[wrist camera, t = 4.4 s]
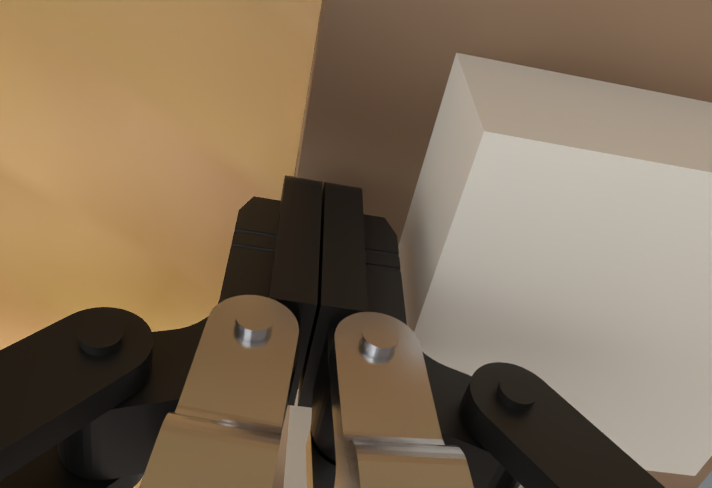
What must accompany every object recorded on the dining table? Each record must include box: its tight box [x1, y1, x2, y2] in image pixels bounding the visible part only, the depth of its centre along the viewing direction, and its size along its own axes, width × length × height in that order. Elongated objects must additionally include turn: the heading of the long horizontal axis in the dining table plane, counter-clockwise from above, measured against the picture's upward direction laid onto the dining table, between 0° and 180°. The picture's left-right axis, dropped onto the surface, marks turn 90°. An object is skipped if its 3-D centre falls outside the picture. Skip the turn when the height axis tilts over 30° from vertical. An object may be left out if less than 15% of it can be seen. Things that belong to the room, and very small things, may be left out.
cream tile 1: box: [398, 53, 712, 476], centre depth 13 cm, size 7×7×3 cm
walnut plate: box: [272, 0, 712, 488], centre depth 18 cm, size 20×13×2 cm, turn 169°
